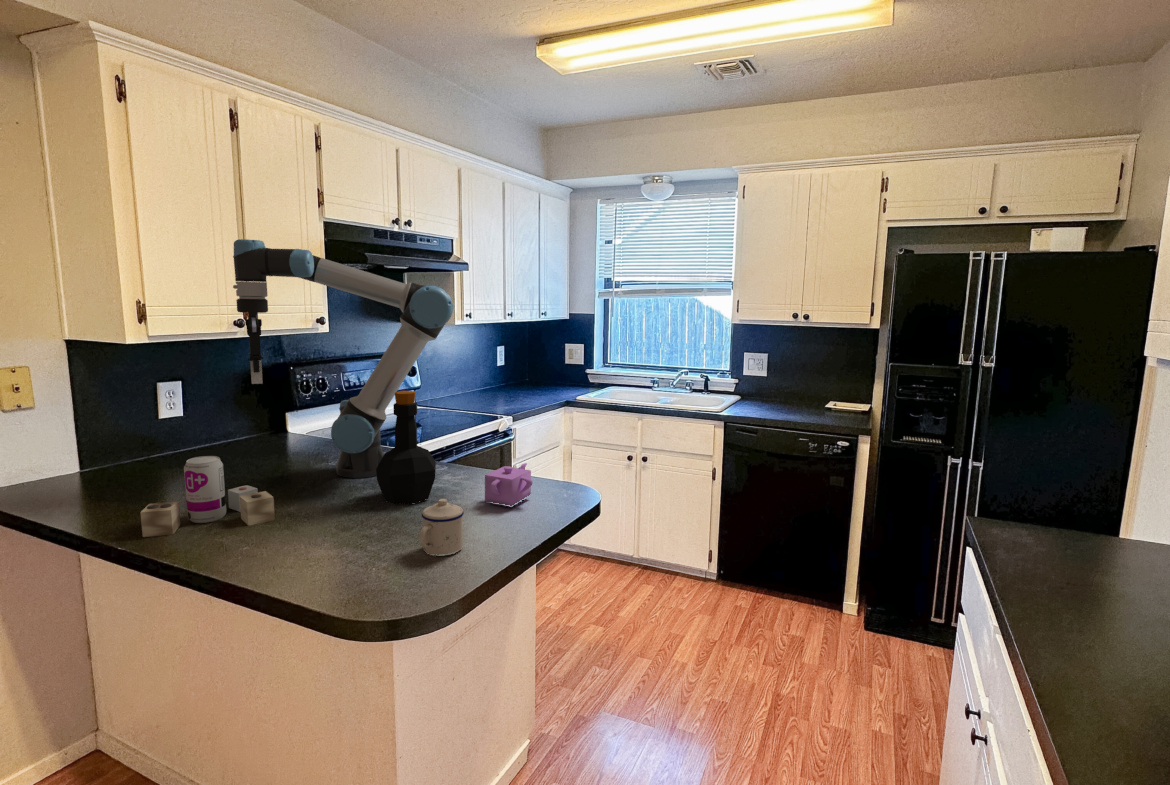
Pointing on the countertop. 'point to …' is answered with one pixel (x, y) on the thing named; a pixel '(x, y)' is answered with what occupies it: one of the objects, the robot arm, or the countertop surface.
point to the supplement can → (205, 489)
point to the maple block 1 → (160, 519)
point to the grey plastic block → (237, 492)
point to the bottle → (406, 458)
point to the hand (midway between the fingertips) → (257, 383)
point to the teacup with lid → (442, 528)
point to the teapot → (508, 485)
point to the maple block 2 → (257, 508)
